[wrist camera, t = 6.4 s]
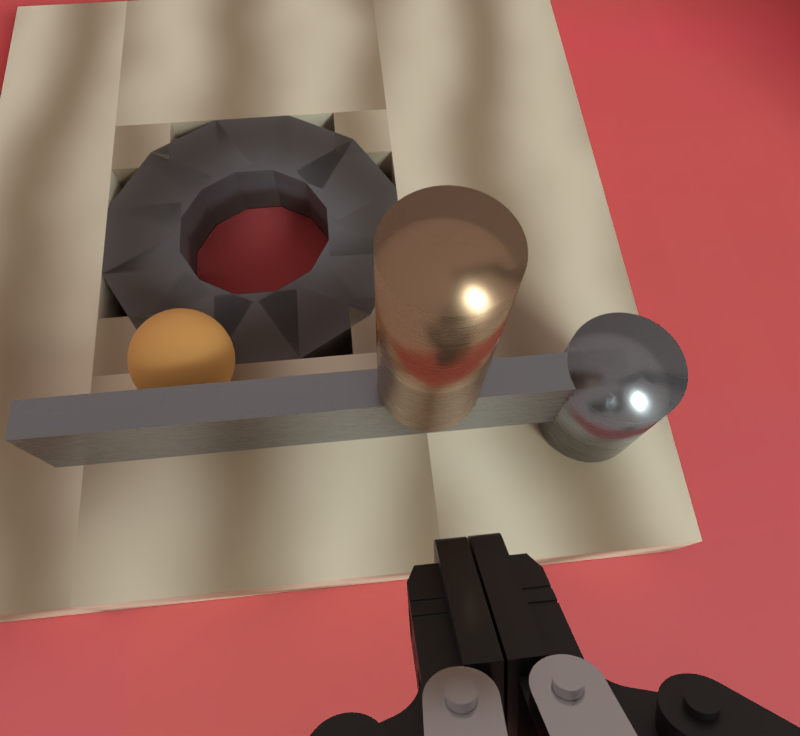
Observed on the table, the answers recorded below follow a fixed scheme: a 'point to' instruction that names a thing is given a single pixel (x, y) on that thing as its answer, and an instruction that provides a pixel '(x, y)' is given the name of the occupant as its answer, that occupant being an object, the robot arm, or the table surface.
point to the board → (291, 288)
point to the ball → (180, 350)
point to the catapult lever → (400, 364)
